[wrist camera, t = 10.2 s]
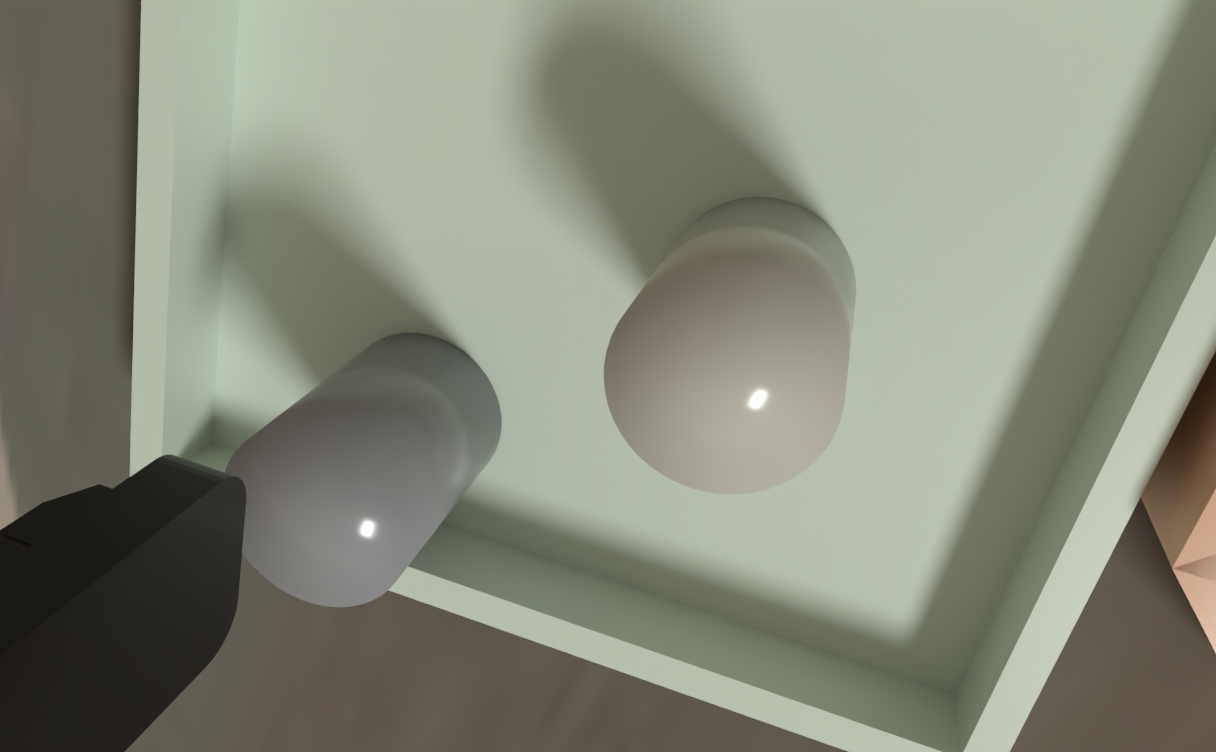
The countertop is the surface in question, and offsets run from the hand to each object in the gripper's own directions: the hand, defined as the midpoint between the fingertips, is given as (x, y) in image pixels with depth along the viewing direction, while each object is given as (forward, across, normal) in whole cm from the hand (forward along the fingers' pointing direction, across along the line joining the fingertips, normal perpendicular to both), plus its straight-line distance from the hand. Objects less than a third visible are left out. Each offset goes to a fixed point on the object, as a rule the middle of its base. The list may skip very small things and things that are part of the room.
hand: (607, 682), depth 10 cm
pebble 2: (+12, 0, 0) cm, 12 cm away
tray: (+13, +2, -1) cm, 13 cm away
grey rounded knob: (+12, +6, +5) cm, 15 cm away
